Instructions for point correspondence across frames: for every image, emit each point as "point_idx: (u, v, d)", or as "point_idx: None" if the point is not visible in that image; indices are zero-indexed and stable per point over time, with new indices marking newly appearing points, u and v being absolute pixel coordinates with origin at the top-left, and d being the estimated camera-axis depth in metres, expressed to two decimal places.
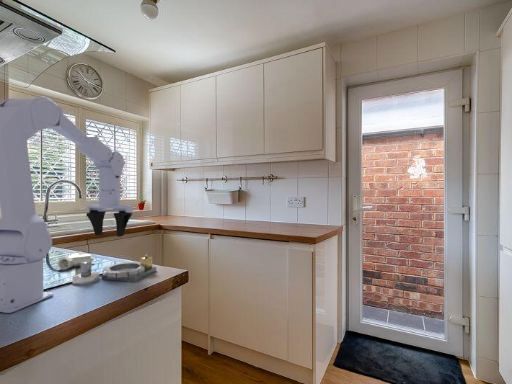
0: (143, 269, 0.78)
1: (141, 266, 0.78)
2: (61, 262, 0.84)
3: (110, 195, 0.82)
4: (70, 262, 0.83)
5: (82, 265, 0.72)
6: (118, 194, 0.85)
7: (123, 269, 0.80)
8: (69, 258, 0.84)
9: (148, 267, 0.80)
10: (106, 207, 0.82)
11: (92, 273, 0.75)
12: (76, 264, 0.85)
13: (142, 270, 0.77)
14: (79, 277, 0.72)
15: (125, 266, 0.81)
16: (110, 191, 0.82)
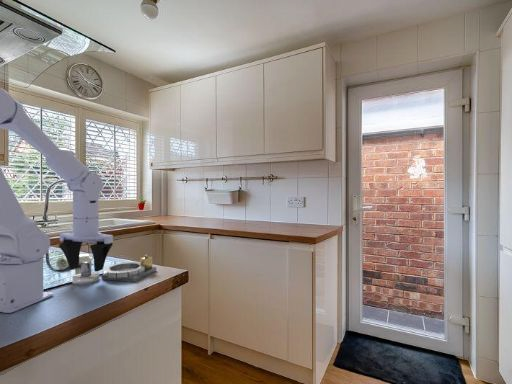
0: (143, 269, 0.78)
1: (141, 266, 0.78)
2: (59, 262, 0.84)
3: (86, 224, 0.71)
4: None
5: (82, 265, 0.72)
6: (96, 222, 0.73)
7: (123, 269, 0.80)
8: None
9: (148, 267, 0.80)
10: (81, 238, 0.70)
11: (92, 273, 0.75)
12: None
13: (142, 270, 0.77)
14: (79, 277, 0.72)
15: (125, 266, 0.81)
16: (86, 219, 0.71)
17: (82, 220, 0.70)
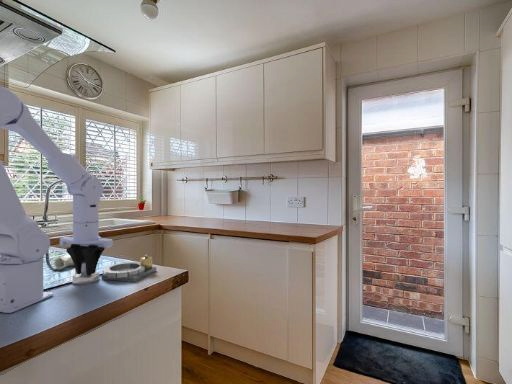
0: (143, 269, 0.78)
1: (141, 266, 0.78)
2: (57, 261, 0.84)
3: (86, 228, 0.71)
4: (65, 262, 0.84)
5: (82, 264, 0.72)
6: (96, 226, 0.73)
7: (123, 269, 0.80)
8: (65, 258, 0.84)
9: (148, 267, 0.80)
10: (81, 242, 0.70)
11: None
12: (72, 264, 0.86)
13: (142, 270, 0.77)
14: (79, 276, 0.72)
15: (125, 266, 0.81)
16: (86, 223, 0.71)
17: (82, 224, 0.70)
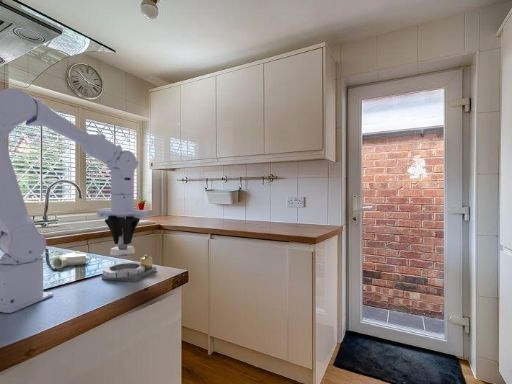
0: (143, 269, 0.78)
1: (141, 266, 0.78)
2: (56, 261, 0.85)
3: (124, 199, 0.75)
4: (63, 261, 0.84)
5: (119, 237, 0.76)
6: (132, 198, 0.77)
7: (123, 269, 0.80)
8: (63, 257, 0.84)
9: (148, 267, 0.80)
10: (119, 213, 0.74)
11: (128, 246, 0.79)
12: (70, 264, 0.86)
13: (142, 270, 0.77)
14: (117, 249, 0.76)
15: (125, 266, 0.81)
16: (124, 195, 0.75)
17: (120, 196, 0.74)
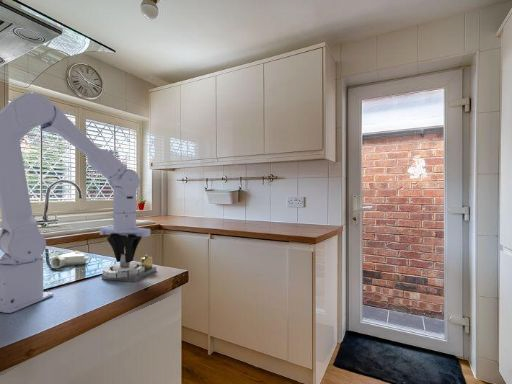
0: (143, 269, 0.78)
1: (141, 266, 0.78)
2: (55, 261, 0.85)
3: (126, 218, 0.75)
4: (62, 261, 0.84)
5: (121, 256, 0.77)
6: (134, 216, 0.77)
7: None
8: (61, 257, 0.85)
9: (148, 267, 0.80)
10: (122, 231, 0.75)
11: (130, 264, 0.80)
12: (69, 263, 0.86)
13: (142, 270, 0.77)
14: (119, 267, 0.77)
15: None
16: (126, 214, 0.75)
17: (122, 214, 0.75)
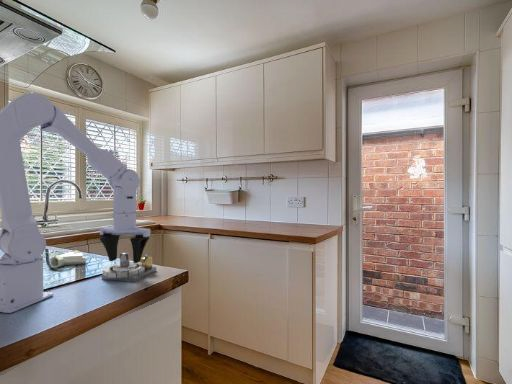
0: (143, 269, 0.78)
1: (141, 266, 0.78)
2: (53, 260, 0.86)
3: (126, 218, 0.75)
4: (60, 261, 0.84)
5: (121, 256, 0.77)
6: (134, 216, 0.77)
7: None
8: (60, 257, 0.85)
9: (148, 267, 0.80)
10: (122, 231, 0.75)
11: (130, 264, 0.80)
12: (67, 263, 0.86)
13: (142, 270, 0.77)
14: (119, 267, 0.77)
15: None
16: (126, 214, 0.75)
17: (122, 214, 0.75)
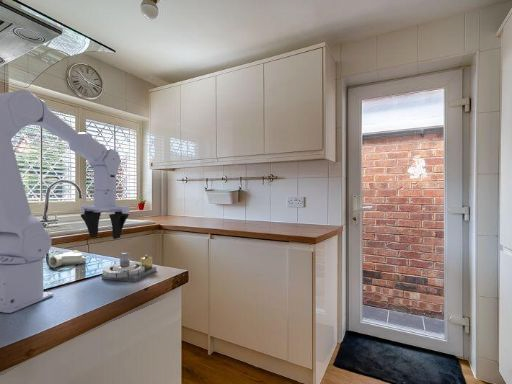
0: (143, 269, 0.78)
1: (141, 266, 0.78)
2: (52, 260, 0.86)
3: (105, 195, 0.79)
4: (58, 261, 0.85)
5: (121, 256, 0.77)
6: (114, 194, 0.81)
7: None
8: (58, 257, 0.85)
9: (148, 267, 0.80)
10: (101, 208, 0.78)
11: (130, 264, 0.80)
12: (66, 263, 0.87)
13: (142, 270, 0.77)
14: (119, 267, 0.77)
15: None
16: (105, 191, 0.79)
17: (102, 192, 0.78)
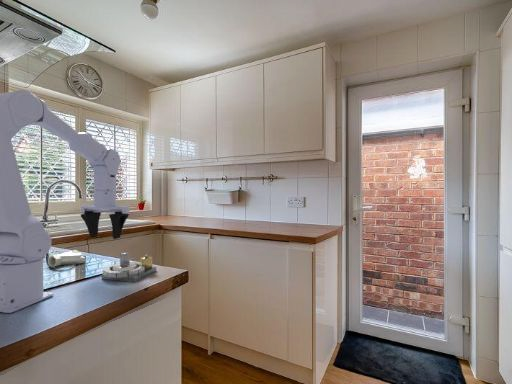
0: (143, 269, 0.78)
1: (141, 266, 0.78)
2: (52, 259, 0.86)
3: (105, 195, 0.79)
4: (57, 260, 0.85)
5: (121, 256, 0.77)
6: (114, 194, 0.81)
7: None
8: (57, 256, 0.86)
9: (148, 267, 0.80)
10: (101, 208, 0.78)
11: (130, 264, 0.80)
12: (65, 262, 0.87)
13: (142, 270, 0.77)
14: (119, 267, 0.77)
15: None
16: (105, 191, 0.79)
17: (102, 192, 0.78)
